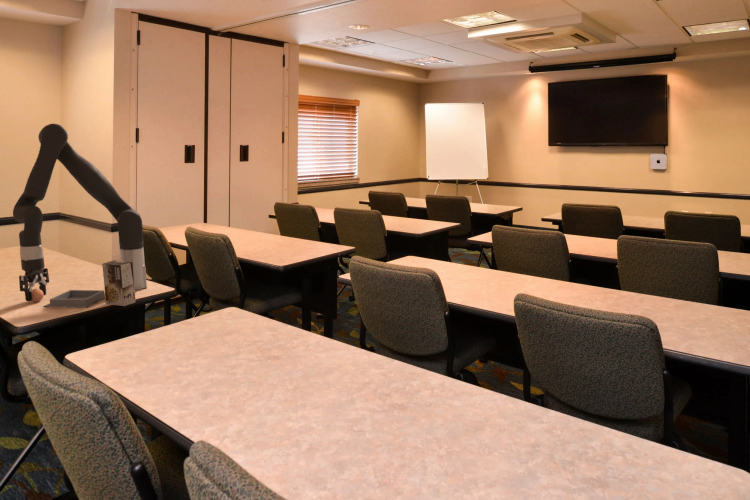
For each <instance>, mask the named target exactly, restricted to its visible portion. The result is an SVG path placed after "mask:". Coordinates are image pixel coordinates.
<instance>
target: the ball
mask: <svg viewBox="0 0 750 500" xmlns="http://www.w3.org/2000/svg"><path fill="white" fill-rule="evenodd" d="M44 296H45V295H44V293H43V291H42V290H40V289H39V288H32V298H33V300H32V301H31V302H34V303H35V302H40V301H42V299H44Z"/></svg>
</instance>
